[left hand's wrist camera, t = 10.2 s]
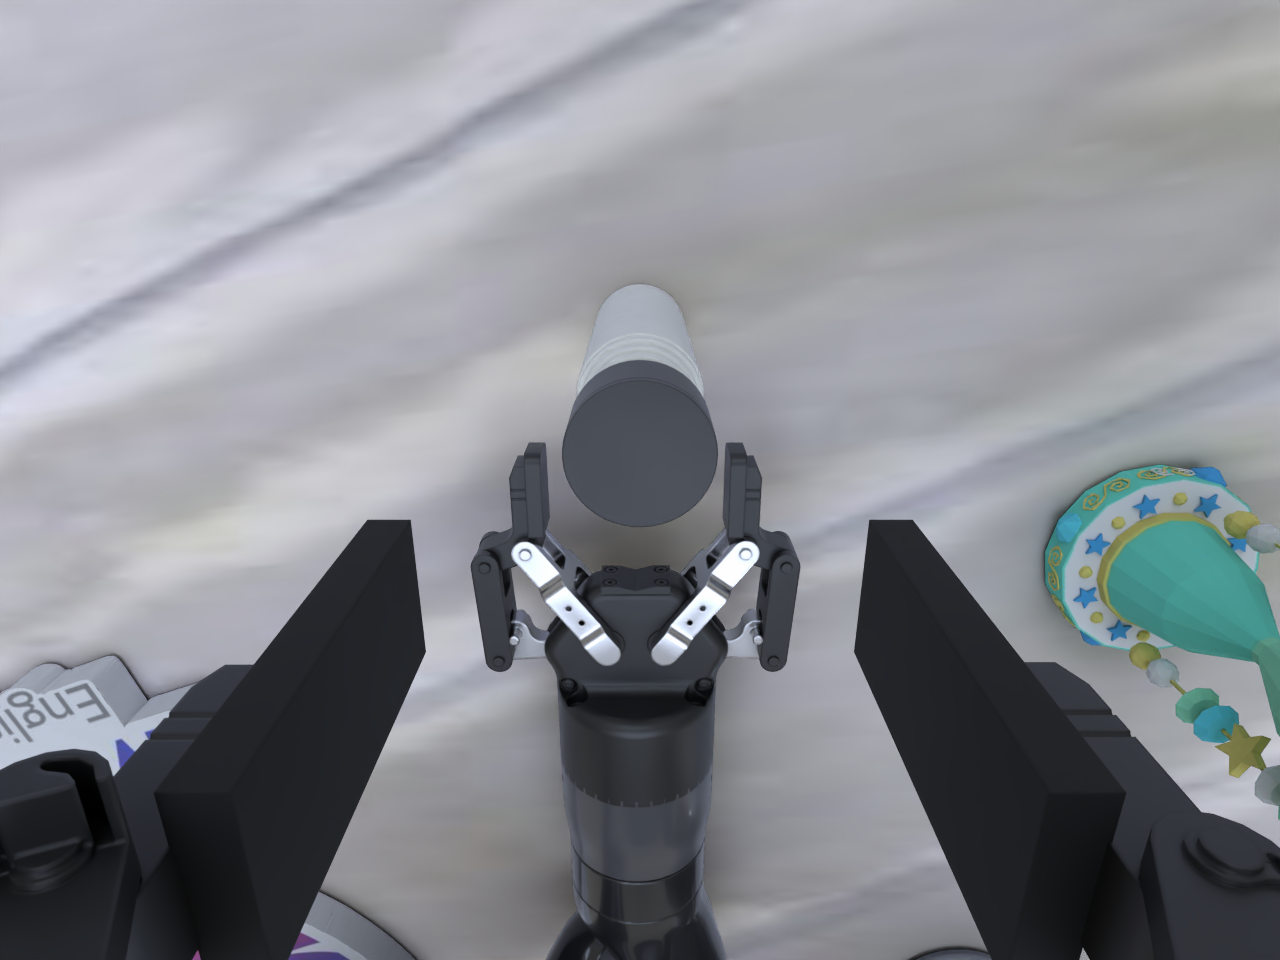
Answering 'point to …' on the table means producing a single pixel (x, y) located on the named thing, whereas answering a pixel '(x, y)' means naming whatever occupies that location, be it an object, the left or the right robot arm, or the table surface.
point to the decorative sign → (115, 728)
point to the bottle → (640, 334)
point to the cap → (639, 444)
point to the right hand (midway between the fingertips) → (634, 447)
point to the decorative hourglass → (1174, 590)
